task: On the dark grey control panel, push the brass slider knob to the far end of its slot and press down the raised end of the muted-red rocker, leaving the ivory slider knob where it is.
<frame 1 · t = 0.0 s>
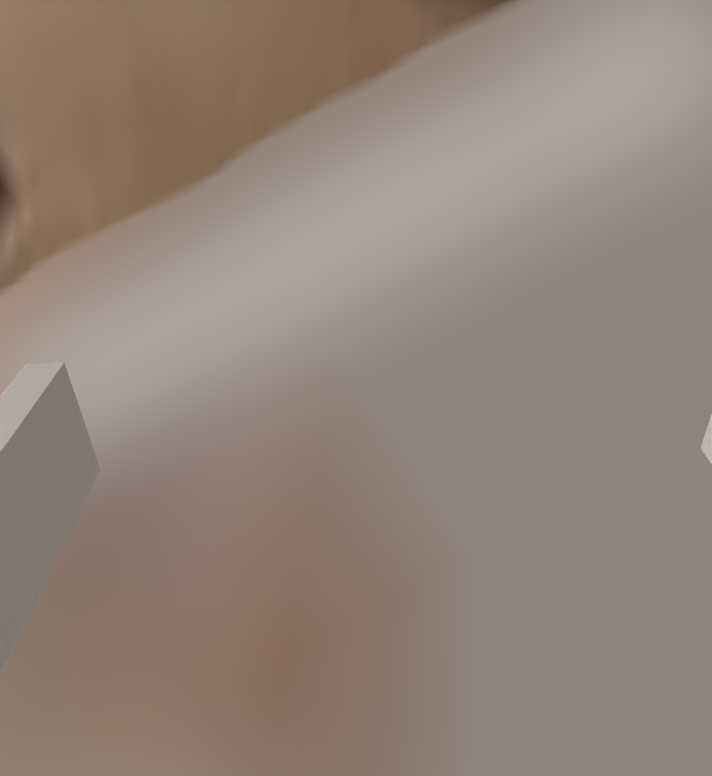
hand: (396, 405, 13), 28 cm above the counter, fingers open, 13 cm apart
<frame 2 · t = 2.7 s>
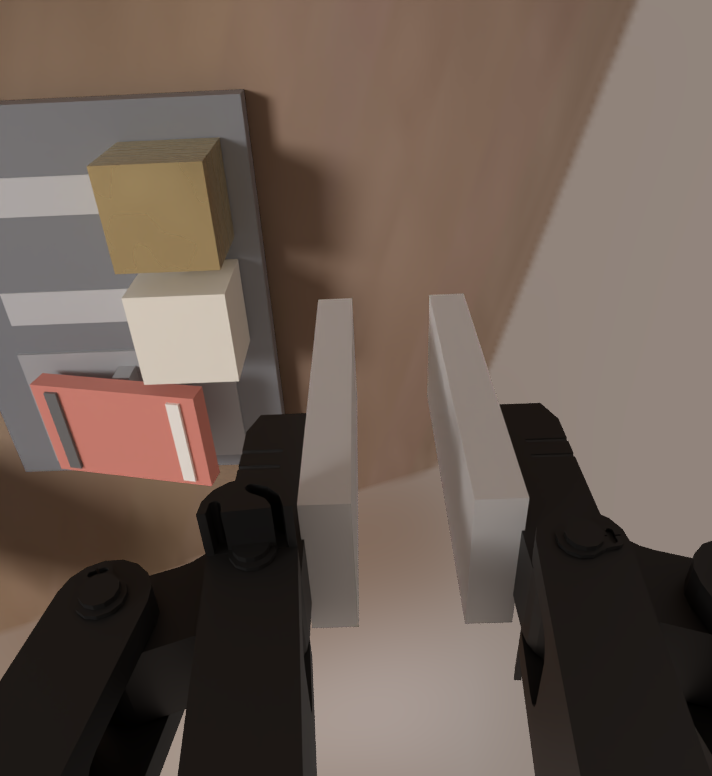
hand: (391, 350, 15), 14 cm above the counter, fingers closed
rocker: (126, 430, 31), point 3 cm above the counter, hinge at 12.0°
panel: (121, 305, 31), on the counter
ivory slider: (191, 321, 28), point 3 cm above the counter, slide at 0.0 cm
brass slider: (167, 205, 25), point 3 cm above the counter, slide at 0.0 cm
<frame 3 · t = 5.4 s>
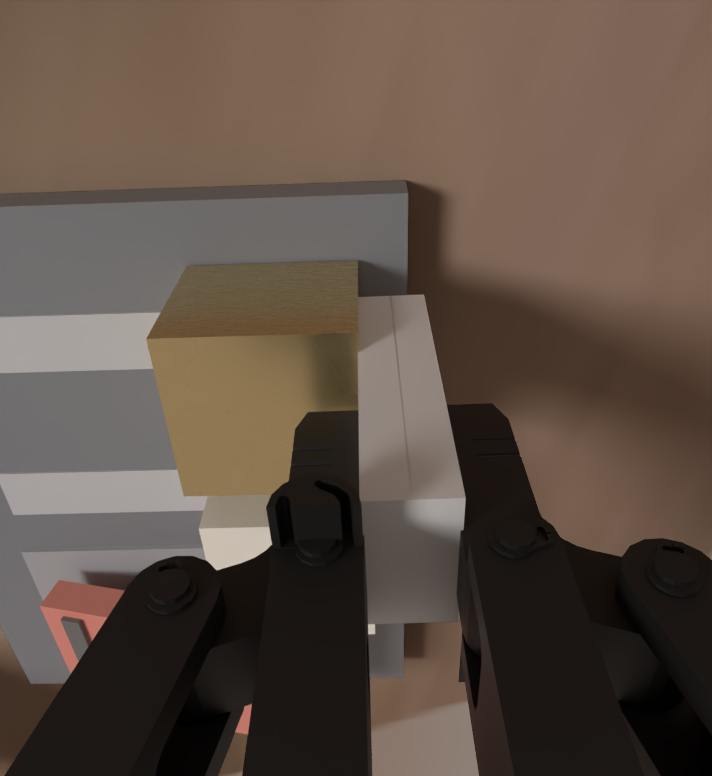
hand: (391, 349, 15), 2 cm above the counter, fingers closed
rocker: (184, 666, 21), point 3 cm above the counter, hinge at 12.0°
panel: (178, 480, 20), on the counter
ivory slider: (298, 532, 18), point 3 cm above the counter, slide at 0.0 cm
brass slider: (272, 375, 15), point 3 cm above the counter, slide at 0.2 cm, touching gripper
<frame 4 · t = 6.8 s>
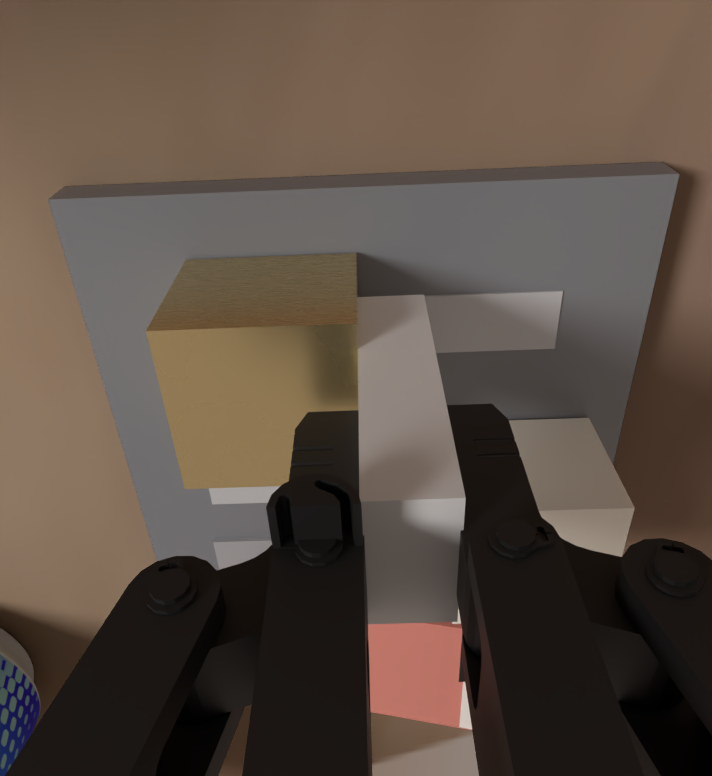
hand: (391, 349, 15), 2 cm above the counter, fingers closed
rocker: (376, 655, 20), point 3 cm above the counter, hinge at 12.0°
panel: (370, 468, 20), on the counter
ivory slider: (521, 519, 18), point 3 cm above the counter, slide at 0.0 cm
brass slider: (272, 368, 15), point 3 cm above the counter, slide at 6.2 cm, touching gripper
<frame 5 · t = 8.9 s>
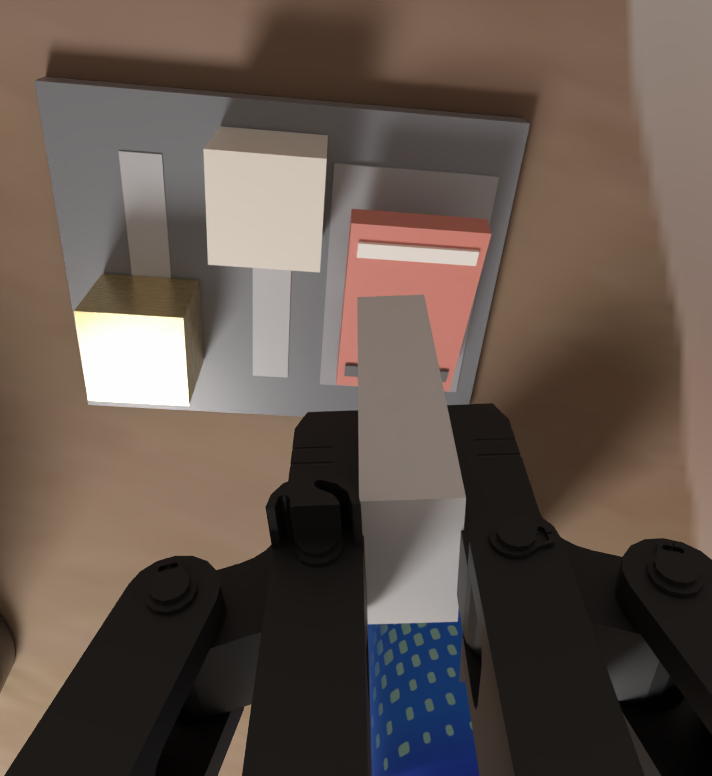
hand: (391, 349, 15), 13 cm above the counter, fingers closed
rocker: (405, 310, 26), point 3 cm above the counter, hinge at 12.0°
beer can: (431, 550, 38), on the counter
panel: (285, 271, 28), on the counter
ivory slider: (269, 198, 24), point 3 cm above the counter, slide at 0.0 cm
brass slider: (145, 339, 27), point 3 cm above the counter, slide at 6.2 cm
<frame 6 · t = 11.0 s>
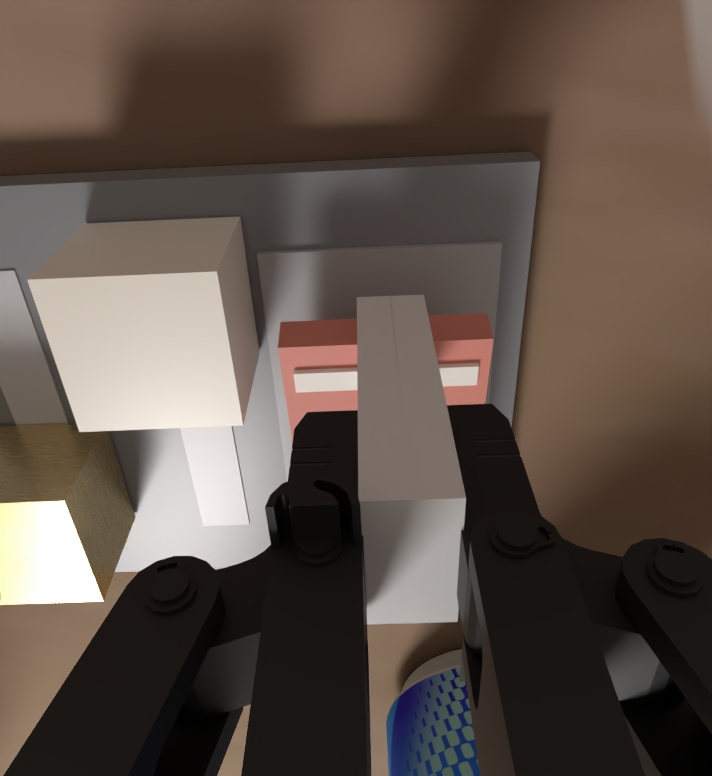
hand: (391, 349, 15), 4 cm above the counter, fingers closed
rocker: (386, 446, 18), point 3 cm above the counter, hinge at 9.5°, touching gripper
beer can: (475, 688, 30), on the counter
panel: (224, 391, 21), on the counter
ivory slider: (161, 322, 16), point 3 cm above the counter, slide at 0.0 cm
brass slider: (38, 512, 20), point 3 cm above the counter, slide at 6.2 cm
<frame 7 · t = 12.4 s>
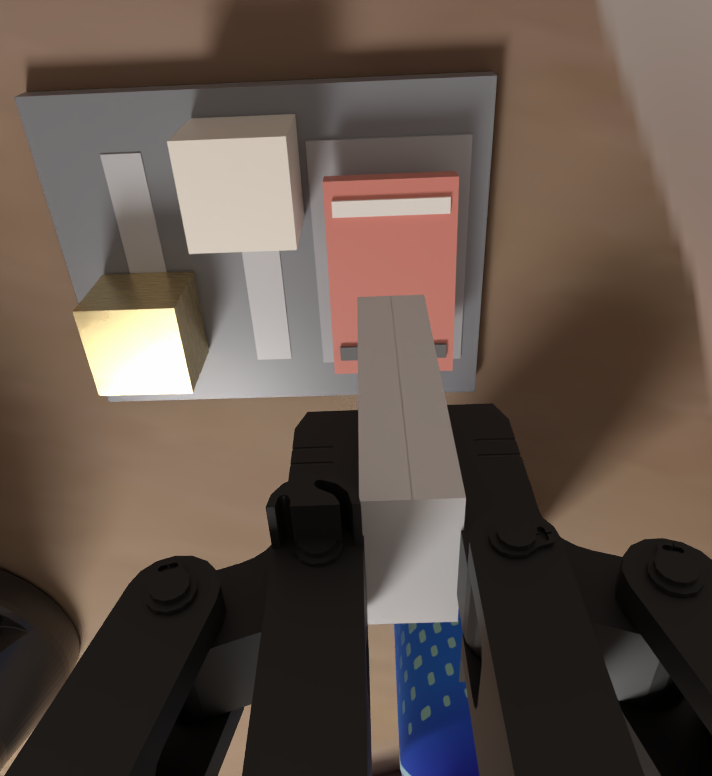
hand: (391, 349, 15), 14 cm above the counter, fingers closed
rocker: (391, 279, 26), point 3 cm above the counter, hinge at -4.7°
beer can: (461, 520, 38), on the counter
panel: (276, 254, 29), on the counter
ivory slider: (242, 183, 24), point 3 cm above the counter, slide at 0.0 cm
brass slider: (147, 332, 28), point 3 cm above the counter, slide at 6.2 cm
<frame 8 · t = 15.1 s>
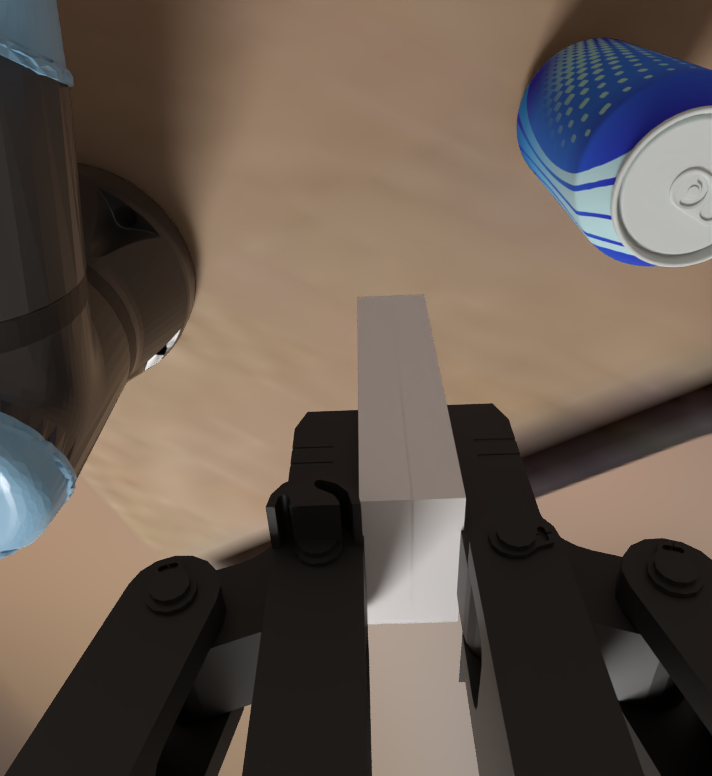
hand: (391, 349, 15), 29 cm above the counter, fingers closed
beer can: (580, 112, 40), on the counter
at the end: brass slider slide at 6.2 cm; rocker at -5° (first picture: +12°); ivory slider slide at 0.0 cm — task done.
